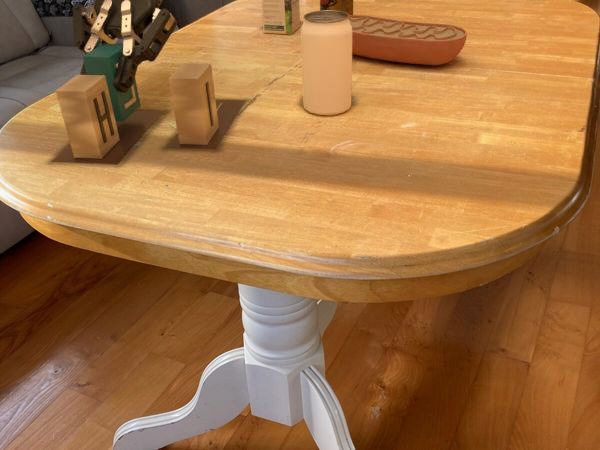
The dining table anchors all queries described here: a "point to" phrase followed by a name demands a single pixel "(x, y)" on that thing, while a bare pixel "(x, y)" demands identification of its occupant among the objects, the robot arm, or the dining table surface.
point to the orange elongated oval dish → (405, 40)
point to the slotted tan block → (199, 108)
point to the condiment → (337, 5)
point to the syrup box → (280, 16)
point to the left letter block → (97, 123)
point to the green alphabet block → (112, 78)
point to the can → (326, 62)
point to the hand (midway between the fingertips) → (104, 87)
